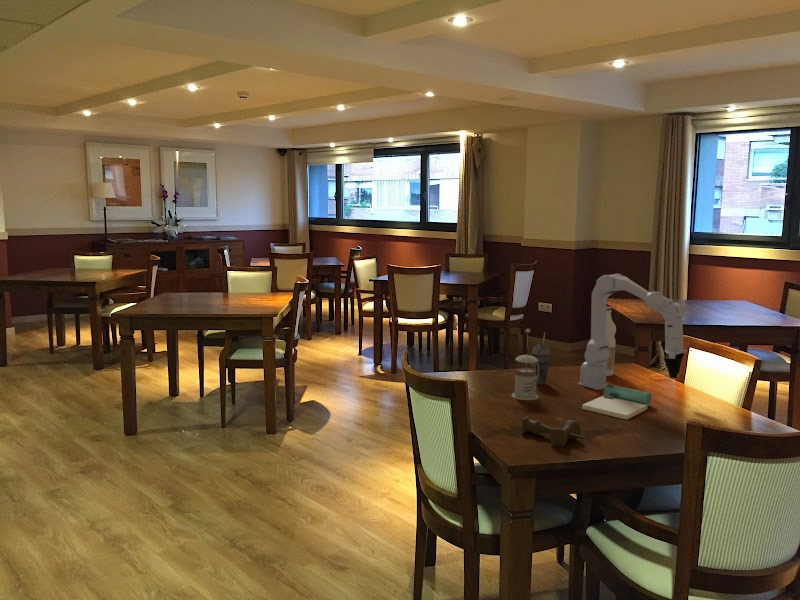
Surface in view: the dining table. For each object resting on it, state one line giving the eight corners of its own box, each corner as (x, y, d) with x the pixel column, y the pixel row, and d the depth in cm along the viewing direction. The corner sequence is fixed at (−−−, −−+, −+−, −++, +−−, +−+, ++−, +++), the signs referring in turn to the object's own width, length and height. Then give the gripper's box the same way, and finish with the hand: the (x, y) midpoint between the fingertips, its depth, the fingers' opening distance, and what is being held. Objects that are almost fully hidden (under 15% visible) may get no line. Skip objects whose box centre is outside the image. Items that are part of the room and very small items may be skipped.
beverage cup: (526, 381, 263) (529, 331, 260) (543, 379, 265) (545, 330, 262) (536, 386, 256) (538, 335, 253) (552, 384, 258) (555, 334, 255)
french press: (505, 395, 243) (508, 328, 239) (525, 390, 250) (528, 324, 247) (527, 401, 235) (530, 332, 232) (547, 395, 243) (550, 328, 239)
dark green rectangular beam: (603, 397, 241) (604, 385, 240) (608, 395, 243) (609, 383, 243) (645, 407, 230) (646, 394, 229) (650, 404, 233) (651, 392, 232)
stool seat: (582, 408, 228) (582, 402, 228) (603, 399, 240) (604, 393, 239) (626, 419, 217) (627, 413, 217) (647, 409, 229) (647, 403, 229)
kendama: (532, 429, 209) (592, 443, 195) (516, 438, 201) (577, 453, 188) (532, 411, 208) (592, 423, 195) (516, 419, 200) (577, 432, 187)
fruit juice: (612, 377, 270) (616, 309, 266) (588, 375, 274) (592, 307, 270) (614, 372, 279) (618, 306, 275) (591, 369, 282) (595, 304, 278)
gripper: (684, 340, 224) (684, 380, 225) (688, 334, 237) (688, 372, 238) (661, 340, 227) (662, 379, 228) (667, 334, 240) (667, 371, 241)
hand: (674, 375), depth 233 cm, fingers open, 7 cm apart
